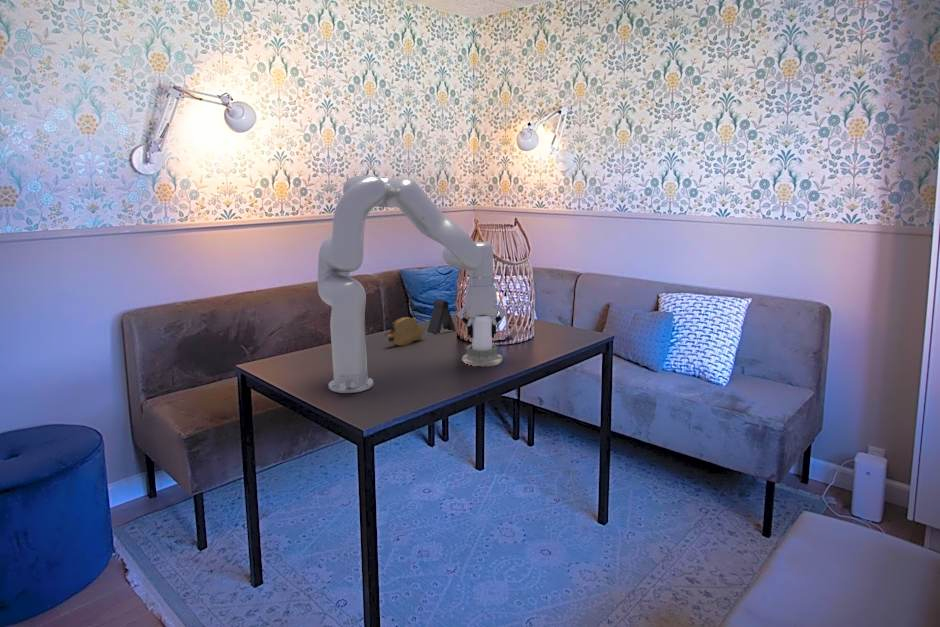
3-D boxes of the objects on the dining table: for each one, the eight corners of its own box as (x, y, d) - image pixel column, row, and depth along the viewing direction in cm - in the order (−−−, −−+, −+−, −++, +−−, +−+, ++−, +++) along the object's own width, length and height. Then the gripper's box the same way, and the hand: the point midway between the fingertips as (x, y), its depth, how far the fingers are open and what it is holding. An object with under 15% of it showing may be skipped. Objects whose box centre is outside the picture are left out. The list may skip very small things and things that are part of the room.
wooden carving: (416, 338, 234) (415, 312, 232) (425, 340, 231) (424, 313, 229) (383, 348, 222) (381, 320, 220) (391, 350, 219) (390, 322, 217)
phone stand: (447, 328, 249) (446, 297, 247) (455, 330, 244) (455, 300, 242) (427, 331, 244) (426, 300, 242) (435, 334, 239) (435, 303, 237)
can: (492, 347, 207) (492, 311, 205) (491, 353, 201) (491, 316, 199) (473, 347, 208) (472, 311, 206) (471, 353, 202) (470, 316, 199)
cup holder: (505, 365, 200) (505, 351, 199) (463, 367, 198) (463, 353, 198) (499, 354, 212) (499, 341, 211) (460, 355, 211) (460, 342, 210)
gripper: (506, 278, 204) (506, 333, 208) (452, 280, 203) (453, 335, 207) (510, 282, 197) (510, 339, 201) (454, 284, 195) (455, 341, 199)
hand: (481, 336), depth 204 cm, fingers closed on can, 6 cm apart
